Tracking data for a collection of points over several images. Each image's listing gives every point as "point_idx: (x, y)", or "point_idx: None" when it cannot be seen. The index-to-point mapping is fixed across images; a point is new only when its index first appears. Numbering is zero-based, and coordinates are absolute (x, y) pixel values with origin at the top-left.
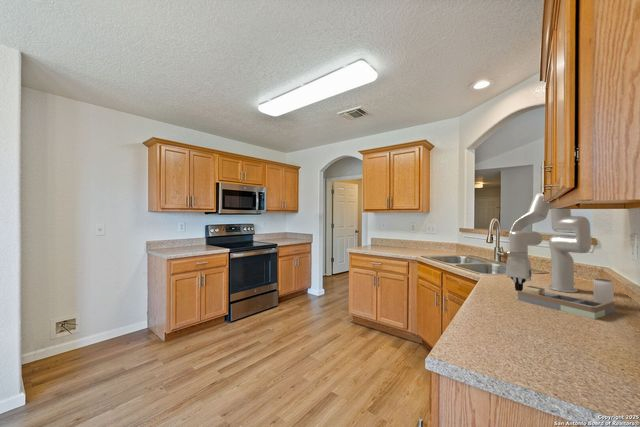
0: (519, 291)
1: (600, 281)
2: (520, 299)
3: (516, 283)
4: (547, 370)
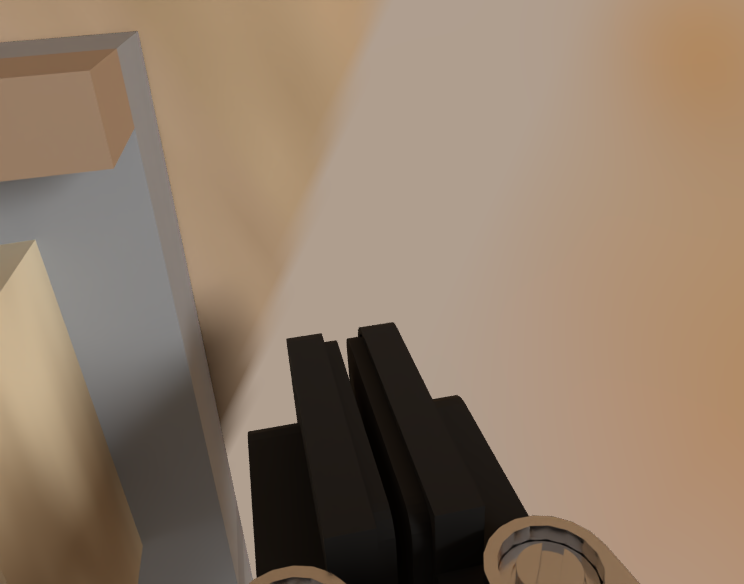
0: (13, 73)
1: None
2: (57, 43)
3: (429, 504)
4: None
